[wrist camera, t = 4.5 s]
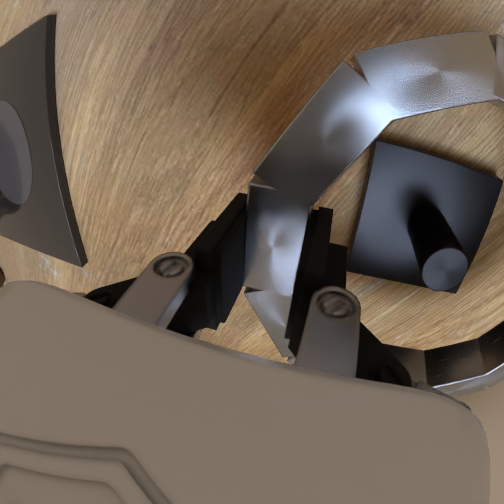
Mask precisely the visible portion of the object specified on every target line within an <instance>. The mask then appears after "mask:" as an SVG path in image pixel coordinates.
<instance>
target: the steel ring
mask: <svg viewBox="0 0 504 504" xmlns="http://www.w3.org/2000/svg"><path fill="white" fill-rule="evenodd" d="M351 62H352V65H353V67H354V68H352V67H351V66H350V65H349V64H347V63H346V62H344V61H342V62H340V63H339V64H338V66H337V67H336V68H335V69H334V70H333V71H332V73H331V74H330V75H329V76H328V77H327V78H326V80H325V81H324V82H323V83H322V84H321V86H320V87H319V88H318V89H317V90H316V92H315V93H314V94H313V95H312V96H311V98H310V99H309V100H308V101H307V103H306V104H305V105H304V106H303V107H302V109H301V110H300V111H299V112H298V114H297V115H296V116H295V117H294V119H293V120H292V121H291V122H290V124H289V125H288V126H287V127H286V129H285V130H284V131H283V132H282V134H281V135H280V136H279V137H278V139H277V140H276V141H275V143H274V144H273V145H272V146H271V148H270V149H269V150H268V152H267V153H266V154H265V155H264V157H263V158H262V159H261V161H260V162H259V163H258V165H257V166H256V167H255V169H254V170H253V173H254V174H255V176H254V177H253V178H252V180H251V181H250V182H249V184H248V194H247V209H246V224H245V240H244V263H243V286H246V289H245V291H244V294H245V296H246V298H247V299H248V301H249V303H250V304H251V306H252V308H253V309H254V311H255V313H256V314H257V316H258V318H259V319H260V321H261V323H262V324H263V326H264V328H265V329H266V331H267V332H268V334H269V336H270V337H271V339H272V341H273V342H274V344H275V345H276V347H277V349H278V350H279V352H280V354H281V355H282V357H288V360H287V361H288V362H289V363H291V364H293V365H294V362H295V358H296V357H295V356H294V355H293V354H292V352H291V351H290V350H289V349H288V344H289V340H290V339H285V338H284V336H285V331H286V326H287V321H288V316H289V311H290V305H291V300H292V295H293V289H294V284H295V278H296V273H297V269H298V264H299V261H300V257H301V253H302V250H303V246H304V242H305V238H306V234H307V231H308V227H309V223H310V219H311V215H312V211H313V208H314V203H315V202H316V201H317V200H318V199H319V198H320V197H321V196H322V195H323V194H324V193H325V192H326V191H327V190H328V189H329V188H330V187H331V186H332V185H333V184H334V183H335V182H336V181H337V180H338V179H339V177H340V176H341V175H342V174H343V173H344V172H345V171H346V170H347V169H348V168H349V167H350V166H351V165H352V164H353V163H354V162H355V161H356V160H357V159H358V158H359V157H360V156H361V154H362V153H363V152H364V151H365V150H366V149H367V148H368V147H369V146H370V145H371V144H372V143H373V142H374V141H375V140H376V139H377V138H378V137H379V136H380V134H381V133H382V132H383V131H384V130H385V129H386V128H387V127H388V126H389V125H390V124H391V123H392V122H393V121H394V120H398V119H403V118H407V117H411V116H415V115H420V114H424V113H429V112H433V111H438V110H443V109H448V108H453V107H458V106H464V105H469V104H475V103H482V102H489V103H491V104H493V105H495V106H497V107H499V108H501V109H502V110H504V38H503V37H501V36H500V35H498V34H495V35H488V32H487V31H472V32H460V33H450V34H442V35H435V36H428V37H422V38H416V39H411V40H405V41H400V42H396V43H391V44H387V45H382V46H378V47H374V48H370V49H366V50H363V51H359V52H355V53H354V54H353V56H352V58H351ZM382 344H383V343H382ZM383 345H384V346H385V347H386V348H387V349H388V350H389V351H390V352H391V353H392V354H393V355H394V356H395V357H396V358H397V359H398V360H399V362H400V363H401V364H402V365H403V366H404V367H405V368H406V369H407V371H408V372H409V374H410V377H411V379H412V381H414V382H416V383H417V382H418V381H419V380H420V381H422V382H424V383H426V384H428V385H430V386H432V387H434V388H436V389H437V390H439V391H441V392H443V393H445V394H447V395H449V396H451V397H453V398H454V397H459V396H463V395H467V394H471V393H475V392H479V391H482V390H484V388H485V386H486V384H487V385H488V386H489V387H492V386H493V385H495V384H497V383H499V382H500V381H502V380H504V321H502V322H501V323H500V324H498V325H497V326H495V327H494V328H492V329H491V330H489V331H488V332H486V333H485V334H483V335H482V336H480V337H479V338H477V339H473V340H469V341H465V342H461V343H457V344H452V345H448V346H444V347H439V348H434V349H429V350H424V351H423V350H417V349H411V348H405V347H399V346H394V345H388V344H383Z"/></svg>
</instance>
